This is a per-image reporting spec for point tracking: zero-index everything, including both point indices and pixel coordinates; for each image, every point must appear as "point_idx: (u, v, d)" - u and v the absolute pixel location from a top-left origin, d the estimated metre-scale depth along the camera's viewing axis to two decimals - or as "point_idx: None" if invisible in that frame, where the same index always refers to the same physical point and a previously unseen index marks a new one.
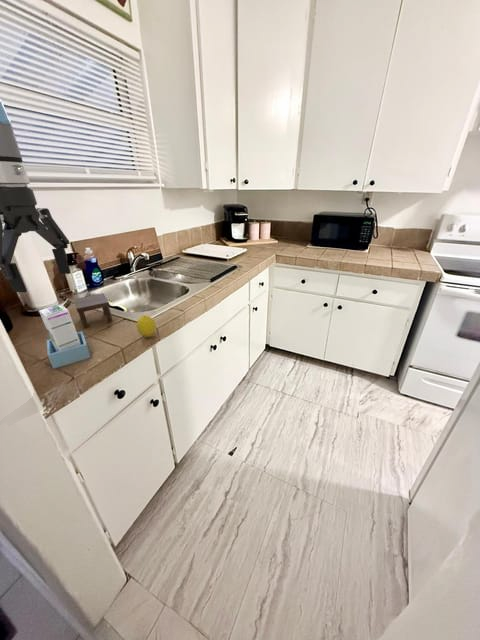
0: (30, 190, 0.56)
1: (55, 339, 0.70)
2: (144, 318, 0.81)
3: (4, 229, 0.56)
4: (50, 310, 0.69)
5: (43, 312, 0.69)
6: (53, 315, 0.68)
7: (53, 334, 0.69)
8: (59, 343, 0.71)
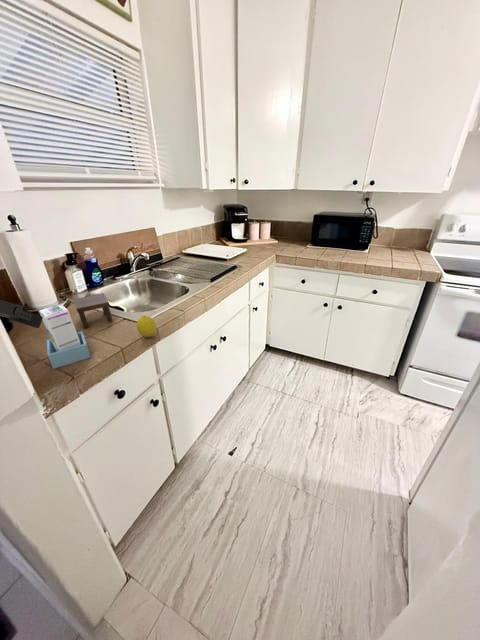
0: None
1: (55, 339, 0.70)
2: (144, 318, 0.81)
3: None
4: (50, 310, 0.69)
5: (43, 312, 0.69)
6: (52, 315, 0.68)
7: (53, 334, 0.69)
8: (59, 343, 0.71)
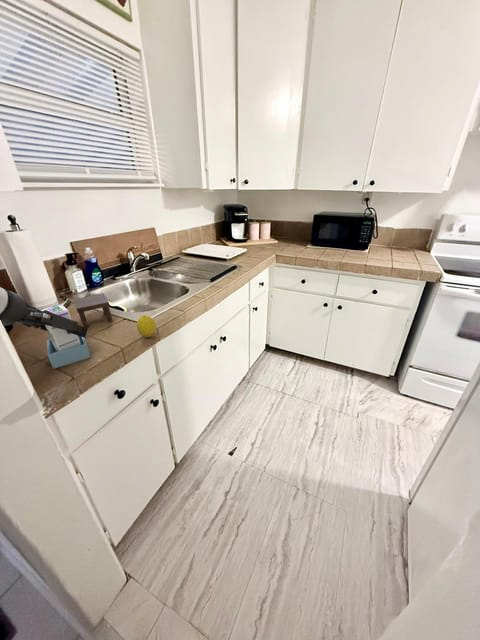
0: None
1: (55, 339, 0.70)
2: (144, 318, 0.81)
3: (40, 323, 0.63)
4: (50, 310, 0.69)
5: None
6: None
7: (53, 334, 0.69)
8: (59, 343, 0.71)
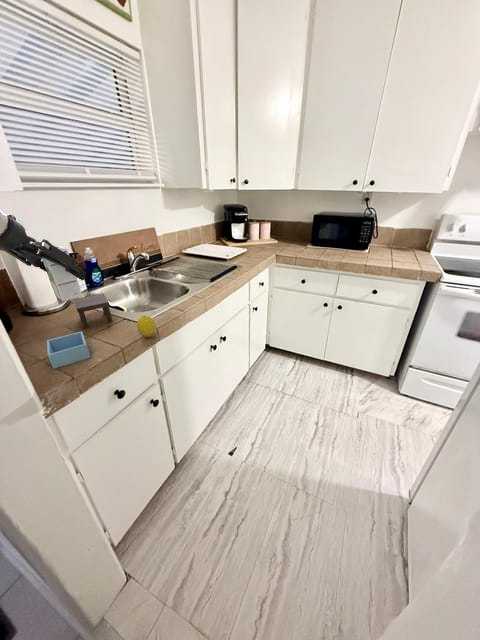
0: None
1: (54, 277, 0.71)
2: (144, 318, 0.81)
3: (39, 255, 0.64)
4: None
5: None
6: None
7: (52, 271, 0.70)
8: (57, 281, 0.72)
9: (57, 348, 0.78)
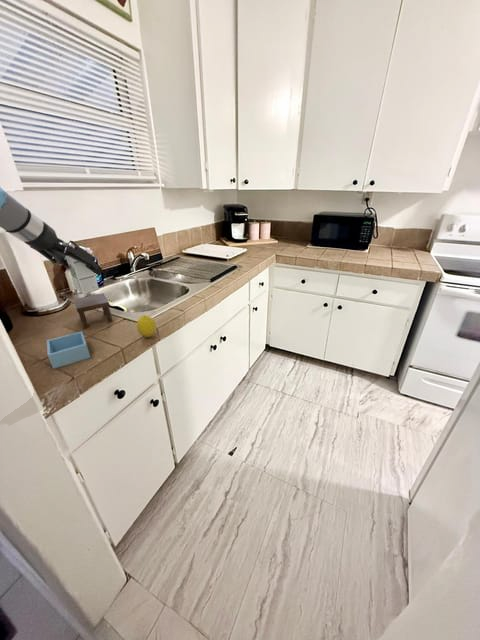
0: None
1: (76, 272, 0.84)
2: (144, 318, 0.81)
3: (65, 253, 0.77)
4: None
5: None
6: None
7: (75, 268, 0.83)
8: (79, 276, 0.85)
9: (57, 348, 0.78)
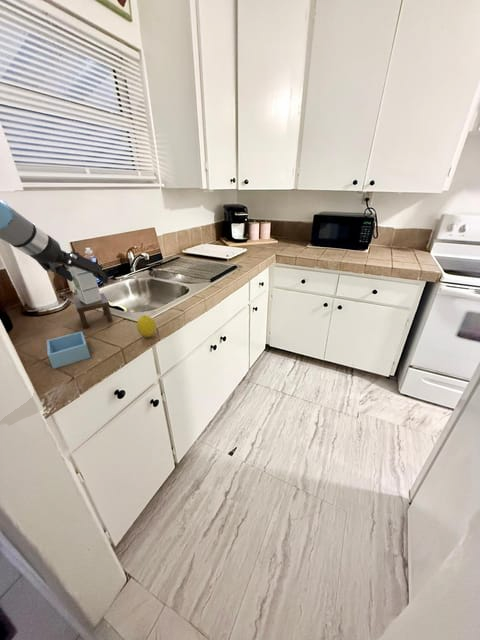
0: None
1: (80, 284, 0.86)
2: (144, 318, 0.81)
3: (70, 264, 0.78)
4: None
5: (70, 261, 0.85)
6: None
7: (78, 280, 0.85)
8: (82, 288, 0.87)
9: (57, 348, 0.78)
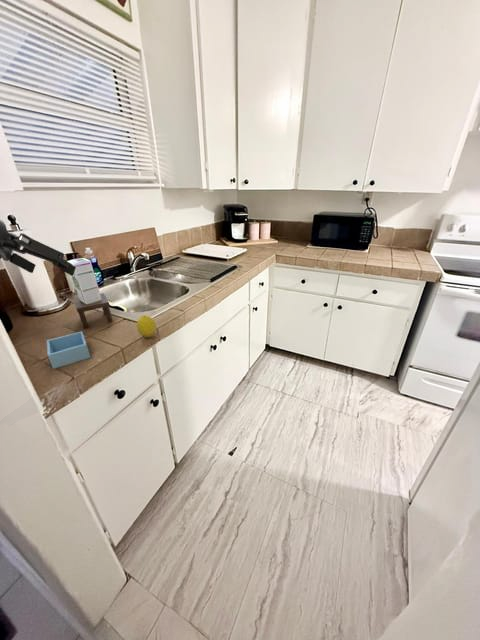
0: None
1: (80, 284, 0.86)
2: (144, 318, 0.81)
3: (21, 250, 0.63)
4: (76, 260, 0.85)
5: (70, 262, 0.85)
6: (78, 263, 0.84)
7: (78, 280, 0.85)
8: (82, 288, 0.87)
9: (57, 348, 0.78)
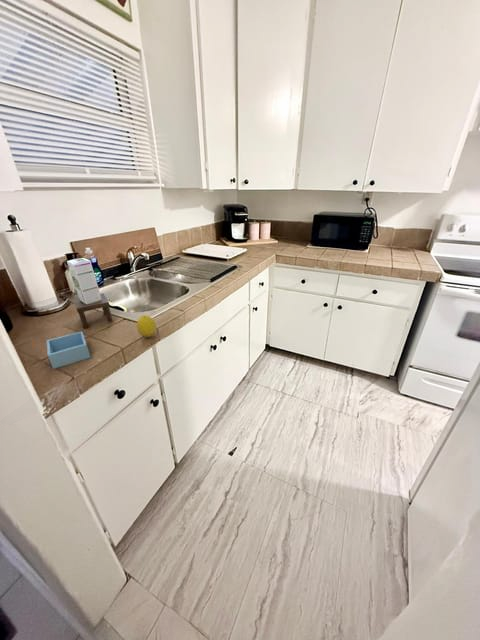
0: None
1: (80, 284, 0.86)
2: (144, 318, 0.81)
3: None
4: (76, 260, 0.85)
5: (70, 262, 0.85)
6: (78, 263, 0.84)
7: (78, 280, 0.85)
8: (82, 288, 0.87)
9: (57, 348, 0.78)
